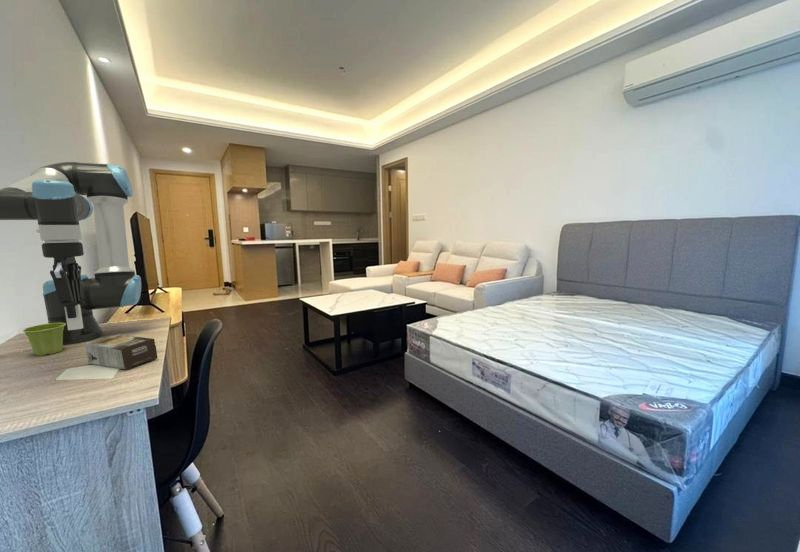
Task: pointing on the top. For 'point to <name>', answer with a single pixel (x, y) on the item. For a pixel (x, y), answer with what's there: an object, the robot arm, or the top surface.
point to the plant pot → (46, 338)
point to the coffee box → (121, 351)
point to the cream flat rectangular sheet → (89, 372)
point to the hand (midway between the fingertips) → (75, 328)
